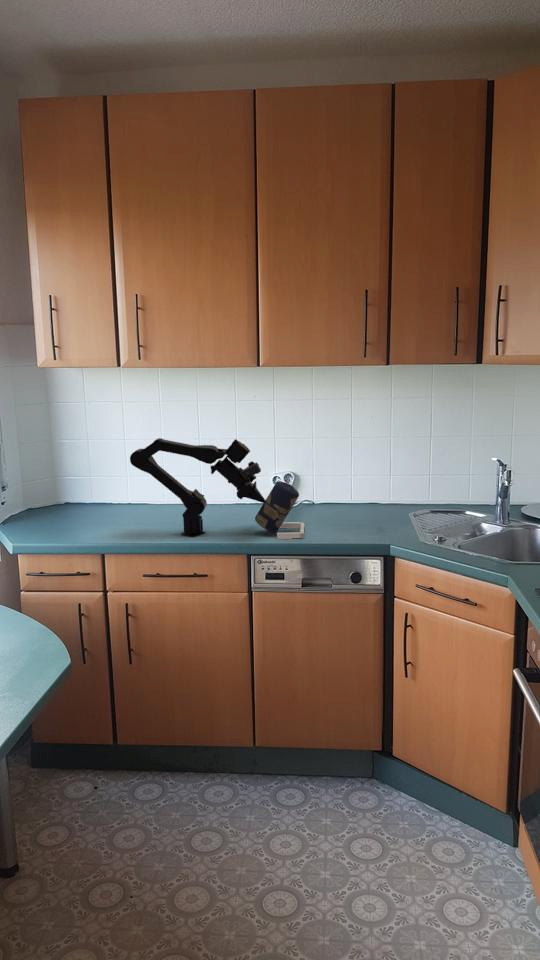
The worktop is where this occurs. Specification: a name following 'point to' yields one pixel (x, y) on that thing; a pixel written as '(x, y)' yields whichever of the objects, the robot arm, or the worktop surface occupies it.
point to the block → (292, 534)
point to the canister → (277, 506)
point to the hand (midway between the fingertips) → (264, 501)
